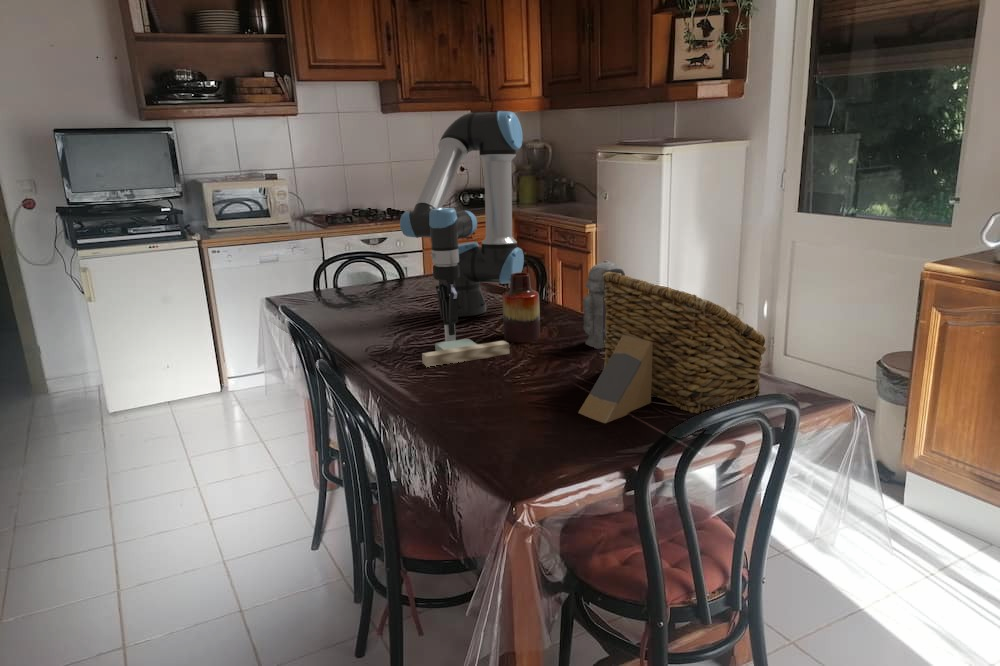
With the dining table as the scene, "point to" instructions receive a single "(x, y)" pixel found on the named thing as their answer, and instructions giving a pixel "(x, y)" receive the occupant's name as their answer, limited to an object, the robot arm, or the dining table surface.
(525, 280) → the vase
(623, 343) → the sandwich container
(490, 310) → the dining table surface
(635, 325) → the basket
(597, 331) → the figurine
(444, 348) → the block
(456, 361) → the curved wooden bar
